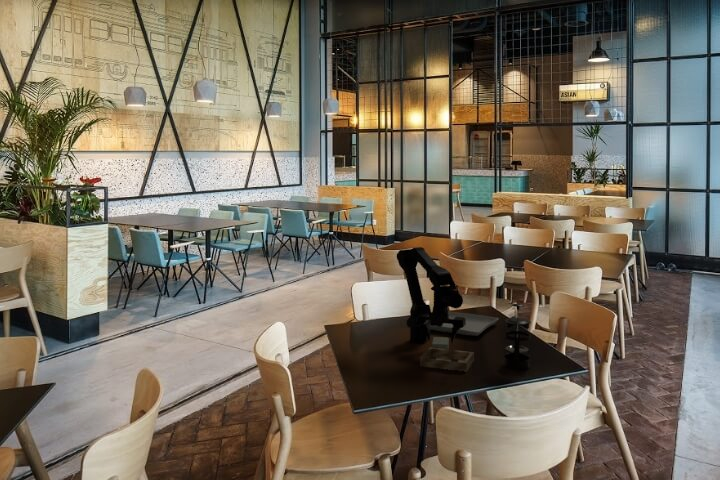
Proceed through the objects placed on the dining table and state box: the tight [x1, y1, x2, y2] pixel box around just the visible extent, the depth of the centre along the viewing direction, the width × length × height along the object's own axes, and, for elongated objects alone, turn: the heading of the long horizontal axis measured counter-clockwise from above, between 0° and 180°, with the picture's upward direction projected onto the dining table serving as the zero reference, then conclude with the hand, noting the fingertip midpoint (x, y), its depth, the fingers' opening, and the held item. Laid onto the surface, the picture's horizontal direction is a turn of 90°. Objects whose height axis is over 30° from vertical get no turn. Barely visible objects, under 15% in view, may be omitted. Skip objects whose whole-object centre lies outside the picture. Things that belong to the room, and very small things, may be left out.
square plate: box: [430, 311, 500, 337], centre depth 266 cm, size 27×27×4 cm
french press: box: [502, 303, 532, 371], centre depth 215 cm, size 12×9×23 cm
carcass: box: [419, 346, 475, 373], centre depth 219 cm, size 17×13×4 cm
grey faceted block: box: [431, 336, 450, 350], centre depth 233 cm, size 6×9×4 cm, turn 169°
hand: (440, 341), depth 233 cm, fingers open, 9 cm apart
